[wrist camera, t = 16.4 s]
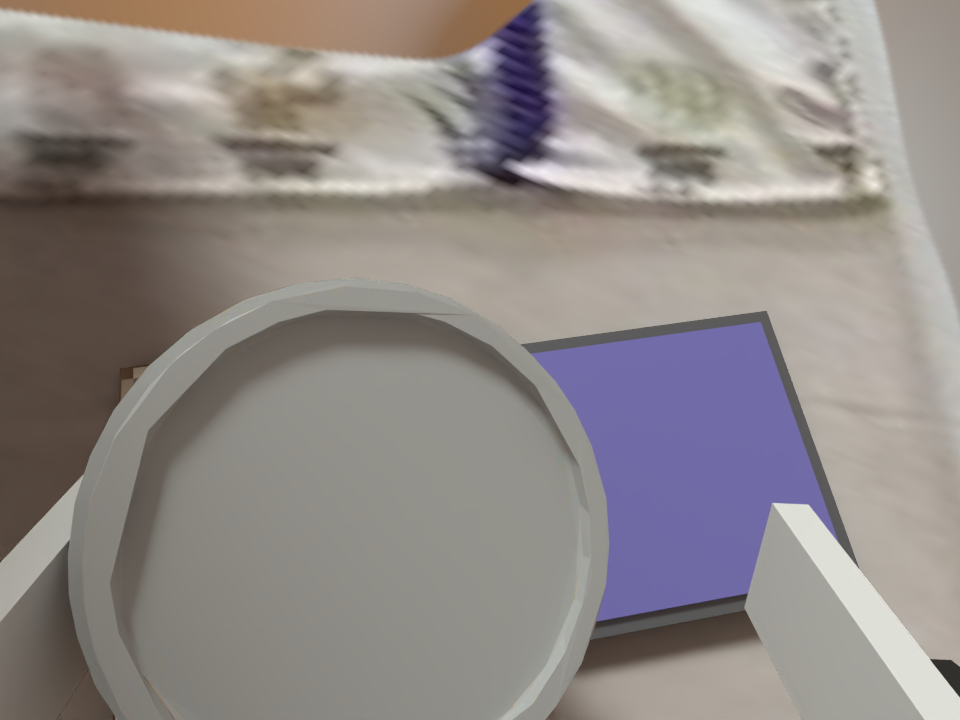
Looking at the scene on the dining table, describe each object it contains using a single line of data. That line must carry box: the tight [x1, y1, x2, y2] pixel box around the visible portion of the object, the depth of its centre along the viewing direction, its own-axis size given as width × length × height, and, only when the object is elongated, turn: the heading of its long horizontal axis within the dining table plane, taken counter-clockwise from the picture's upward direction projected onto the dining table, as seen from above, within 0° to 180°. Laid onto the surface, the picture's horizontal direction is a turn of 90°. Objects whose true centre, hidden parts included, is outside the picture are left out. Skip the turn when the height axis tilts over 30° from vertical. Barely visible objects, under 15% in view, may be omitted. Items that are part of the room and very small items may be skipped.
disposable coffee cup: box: [68, 278, 609, 720], centre depth 17 cm, size 10×10×12 cm
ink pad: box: [521, 311, 859, 640], centre depth 25 cm, size 10×10×1 cm
